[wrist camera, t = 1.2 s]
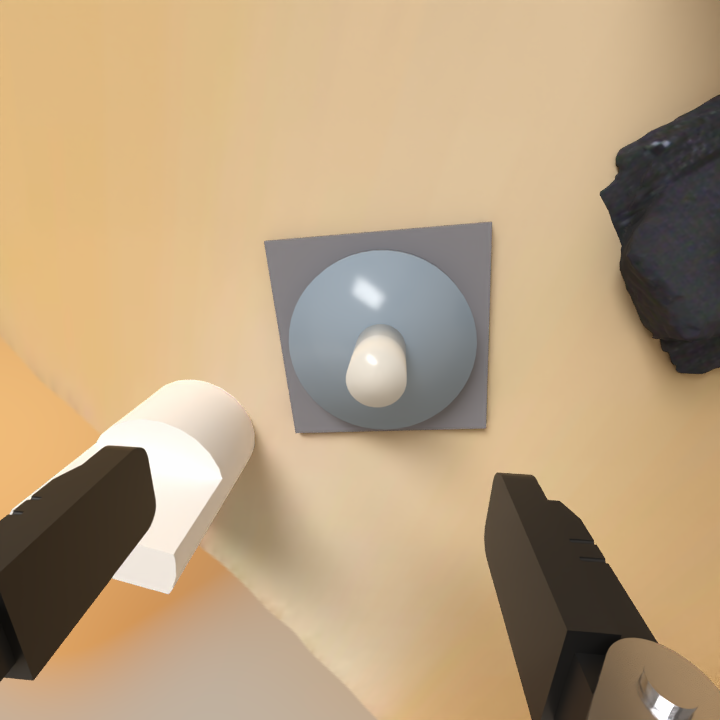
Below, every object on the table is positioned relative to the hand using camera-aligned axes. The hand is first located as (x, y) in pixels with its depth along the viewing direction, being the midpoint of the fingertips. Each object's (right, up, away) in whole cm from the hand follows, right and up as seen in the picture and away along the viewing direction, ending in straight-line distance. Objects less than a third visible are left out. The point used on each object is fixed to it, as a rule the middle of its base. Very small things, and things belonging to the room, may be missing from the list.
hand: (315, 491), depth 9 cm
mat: (+3, +5, +18) cm, 19 cm away
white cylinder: (-12, -3, +23) cm, 26 cm away
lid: (+2, +4, +18) cm, 18 cm away
